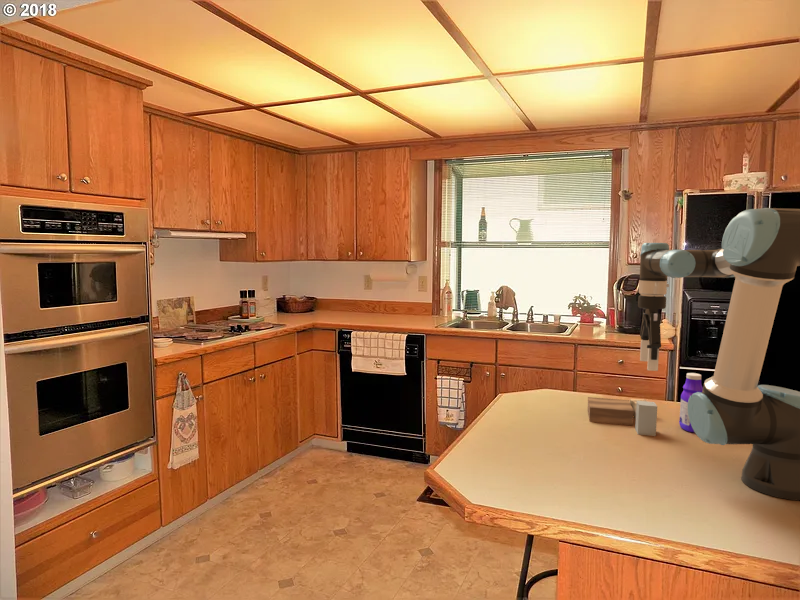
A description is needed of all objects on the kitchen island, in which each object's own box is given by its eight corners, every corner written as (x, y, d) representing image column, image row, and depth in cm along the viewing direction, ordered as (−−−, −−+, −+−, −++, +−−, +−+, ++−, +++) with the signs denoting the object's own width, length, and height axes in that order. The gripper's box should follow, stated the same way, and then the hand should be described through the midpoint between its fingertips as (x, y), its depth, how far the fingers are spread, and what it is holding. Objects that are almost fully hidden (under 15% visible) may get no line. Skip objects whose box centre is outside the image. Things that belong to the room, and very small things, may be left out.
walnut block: (632, 426, 174) (633, 410, 174) (589, 422, 178) (590, 407, 178) (628, 414, 187) (628, 400, 186) (587, 411, 190) (588, 397, 190)
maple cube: (650, 418, 182) (651, 403, 182) (635, 418, 182) (636, 403, 182) (643, 413, 187) (644, 399, 187) (629, 413, 187) (629, 399, 187)
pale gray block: (655, 436, 165) (657, 406, 164) (637, 434, 166) (639, 404, 165) (652, 430, 169) (654, 401, 169) (635, 429, 171) (636, 400, 170)
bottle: (706, 433, 167) (709, 376, 165) (687, 433, 167) (690, 376, 166) (693, 426, 174) (697, 371, 173) (675, 425, 174) (678, 371, 173)
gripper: (675, 299, 151) (670, 375, 153) (658, 292, 175) (654, 358, 177) (645, 298, 153) (641, 373, 155) (632, 291, 177) (629, 356, 179)
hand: (648, 365), depth 166 cm, fingers open, 13 cm apart
